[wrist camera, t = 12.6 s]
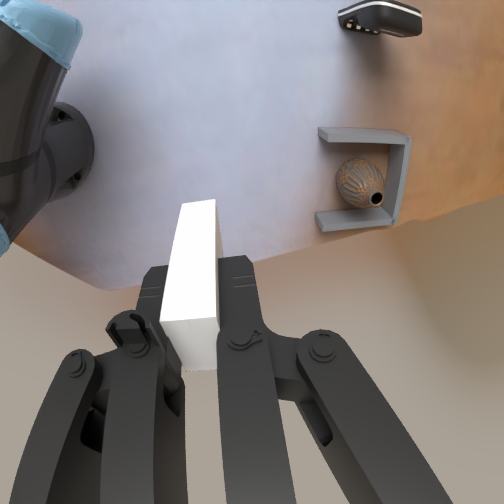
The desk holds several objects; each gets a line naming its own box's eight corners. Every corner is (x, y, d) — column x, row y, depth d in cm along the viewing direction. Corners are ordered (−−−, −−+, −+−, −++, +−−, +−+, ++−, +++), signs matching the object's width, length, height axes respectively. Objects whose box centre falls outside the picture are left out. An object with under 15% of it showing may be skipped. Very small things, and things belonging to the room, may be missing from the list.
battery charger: (336, 33, 26) (379, 24, 17) (335, 10, 24) (376, -6, 15) (380, 40, 27) (429, 39, 18) (379, 18, 24) (427, 12, 15)
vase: (376, 162, 39) (405, 185, 32) (358, 198, 43) (383, 226, 36) (341, 147, 37) (368, 167, 30) (323, 186, 41) (345, 214, 34)
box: (314, 218, 44) (322, 231, 41) (318, 127, 35) (328, 133, 32) (385, 212, 45) (396, 224, 42) (397, 130, 36) (412, 137, 33)
